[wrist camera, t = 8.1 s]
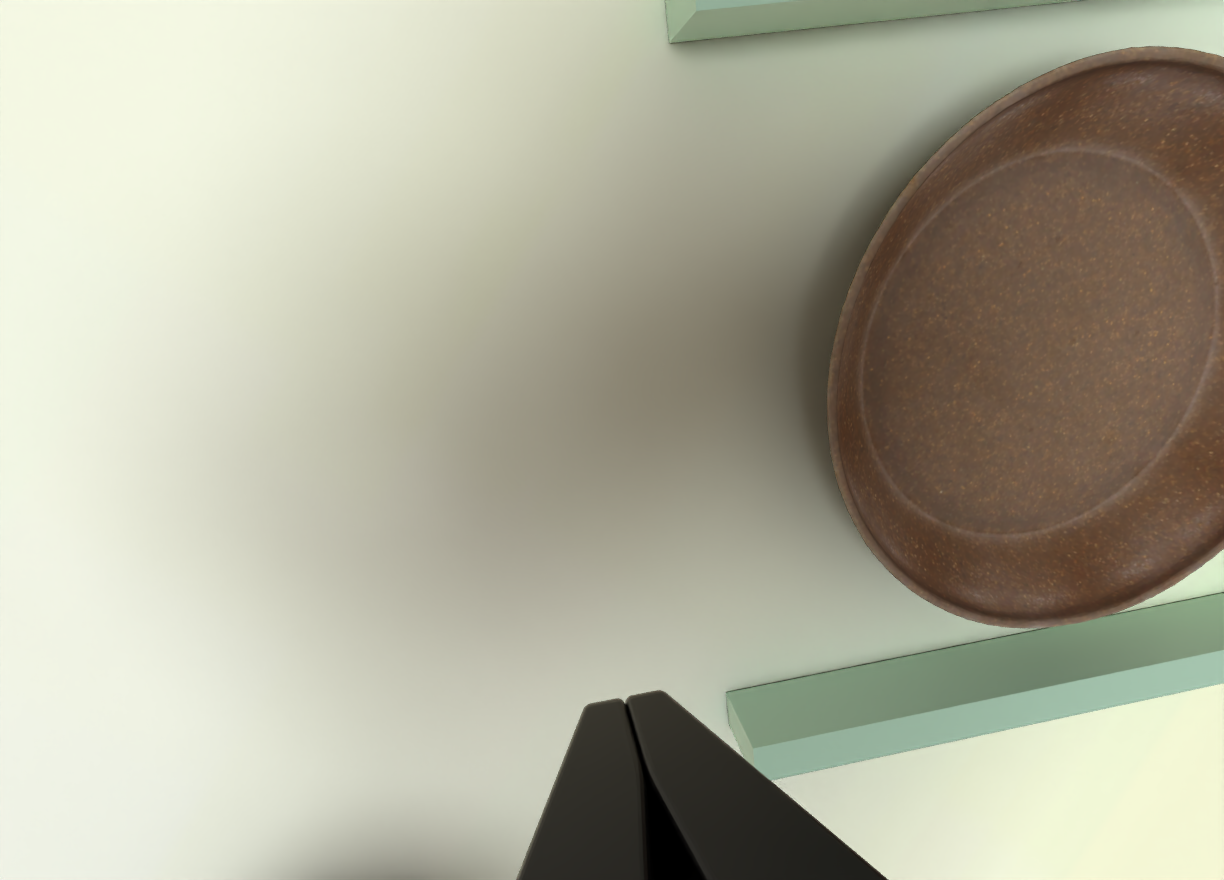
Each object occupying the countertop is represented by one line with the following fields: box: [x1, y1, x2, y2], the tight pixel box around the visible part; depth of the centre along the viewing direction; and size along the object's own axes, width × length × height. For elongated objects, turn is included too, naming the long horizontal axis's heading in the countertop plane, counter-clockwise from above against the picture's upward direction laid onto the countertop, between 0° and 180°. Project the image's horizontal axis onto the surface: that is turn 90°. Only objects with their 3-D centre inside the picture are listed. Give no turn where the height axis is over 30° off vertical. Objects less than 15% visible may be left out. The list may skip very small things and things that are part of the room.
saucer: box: [827, 46, 1224, 628], centre depth 19 cm, size 15×15×3 cm
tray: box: [665, 0, 1224, 781], centre depth 19 cm, size 20×20×2 cm
